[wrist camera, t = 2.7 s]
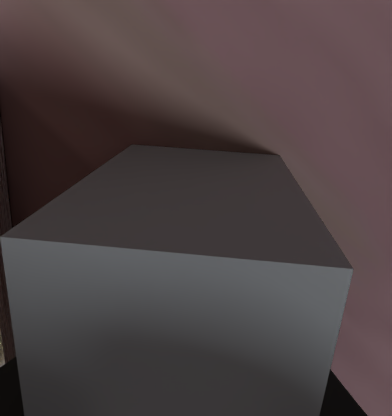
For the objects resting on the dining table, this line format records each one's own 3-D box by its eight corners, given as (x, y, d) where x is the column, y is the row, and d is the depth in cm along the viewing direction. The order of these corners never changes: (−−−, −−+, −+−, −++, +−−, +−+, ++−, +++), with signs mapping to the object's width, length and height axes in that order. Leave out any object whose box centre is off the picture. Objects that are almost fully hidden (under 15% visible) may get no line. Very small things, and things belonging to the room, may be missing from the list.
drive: (280, 154, 9) (356, 269, 3) (241, 432, 12) (251, 711, 7) (131, 143, 9) (-3, 236, 4) (132, 419, 12) (59, 679, 7)
